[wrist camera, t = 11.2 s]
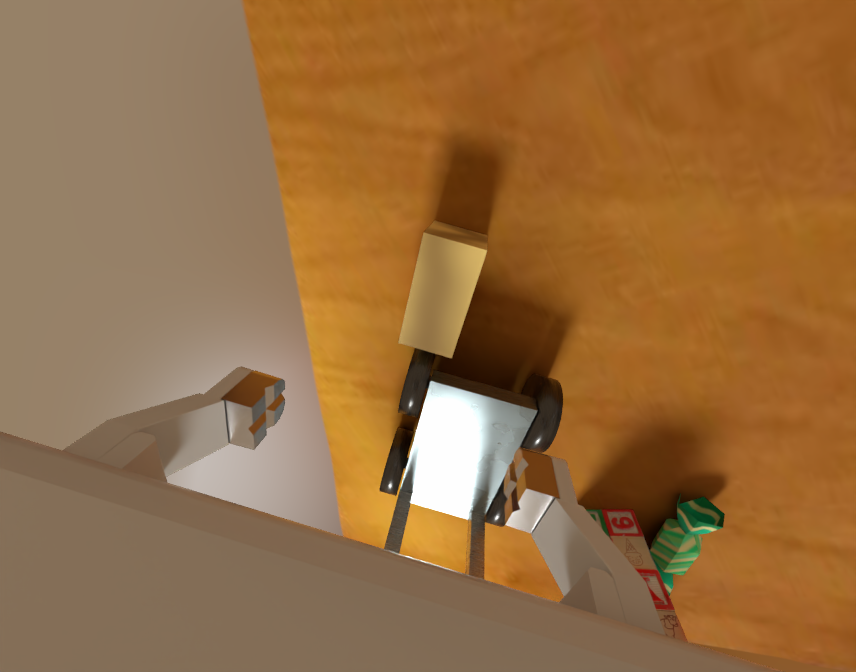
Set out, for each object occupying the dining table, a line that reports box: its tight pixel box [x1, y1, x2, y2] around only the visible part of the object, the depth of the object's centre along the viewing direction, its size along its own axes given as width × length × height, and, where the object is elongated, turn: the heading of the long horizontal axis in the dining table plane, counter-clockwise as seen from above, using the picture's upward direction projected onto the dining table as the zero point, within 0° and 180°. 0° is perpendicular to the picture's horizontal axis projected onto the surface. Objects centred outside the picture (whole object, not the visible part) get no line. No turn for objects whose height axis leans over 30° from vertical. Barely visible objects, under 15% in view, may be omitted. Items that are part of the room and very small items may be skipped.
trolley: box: [380, 348, 563, 580], centre depth 23 cm, size 16×12×20 cm
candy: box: [650, 493, 725, 596], centre depth 34 cm, size 12×3×4 cm
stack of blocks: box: [586, 509, 688, 642], centre depth 34 cm, size 21×6×12 cm, turn 13°
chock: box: [398, 220, 487, 358], centre depth 24 cm, size 4×8×5 cm, turn 167°
